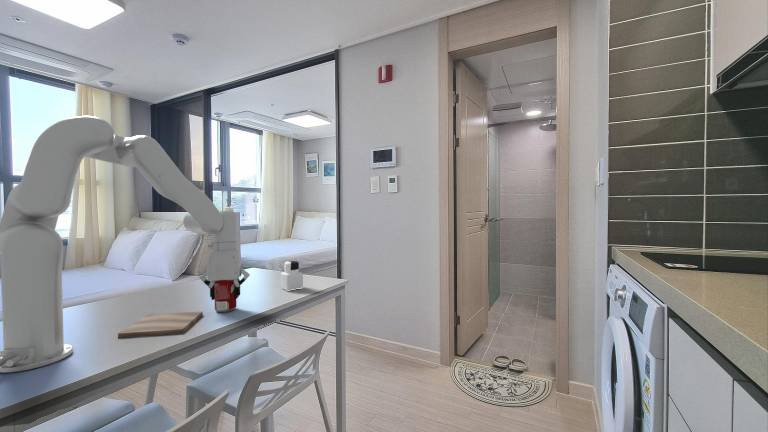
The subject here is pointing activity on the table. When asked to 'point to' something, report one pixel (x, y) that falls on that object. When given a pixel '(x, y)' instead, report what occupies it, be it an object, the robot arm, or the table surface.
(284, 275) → the white security camera
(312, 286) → the table surface
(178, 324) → the walnut board
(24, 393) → the table surface
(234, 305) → the soda can
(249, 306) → the table surface
